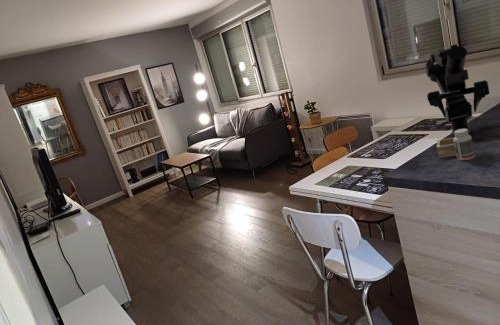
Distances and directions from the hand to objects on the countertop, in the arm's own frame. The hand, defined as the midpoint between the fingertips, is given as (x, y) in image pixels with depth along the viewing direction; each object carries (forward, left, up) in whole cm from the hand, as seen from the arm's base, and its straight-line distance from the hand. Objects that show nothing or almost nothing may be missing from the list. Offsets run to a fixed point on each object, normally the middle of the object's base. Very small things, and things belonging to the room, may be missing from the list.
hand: (459, 114), depth 125 cm
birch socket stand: (0, -5, -13) cm, 14 cm away
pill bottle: (+8, -1, -13) cm, 16 cm away
